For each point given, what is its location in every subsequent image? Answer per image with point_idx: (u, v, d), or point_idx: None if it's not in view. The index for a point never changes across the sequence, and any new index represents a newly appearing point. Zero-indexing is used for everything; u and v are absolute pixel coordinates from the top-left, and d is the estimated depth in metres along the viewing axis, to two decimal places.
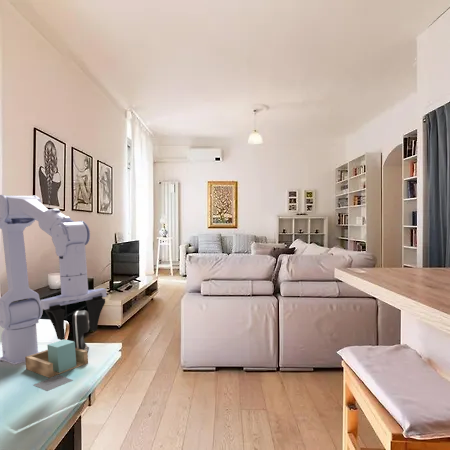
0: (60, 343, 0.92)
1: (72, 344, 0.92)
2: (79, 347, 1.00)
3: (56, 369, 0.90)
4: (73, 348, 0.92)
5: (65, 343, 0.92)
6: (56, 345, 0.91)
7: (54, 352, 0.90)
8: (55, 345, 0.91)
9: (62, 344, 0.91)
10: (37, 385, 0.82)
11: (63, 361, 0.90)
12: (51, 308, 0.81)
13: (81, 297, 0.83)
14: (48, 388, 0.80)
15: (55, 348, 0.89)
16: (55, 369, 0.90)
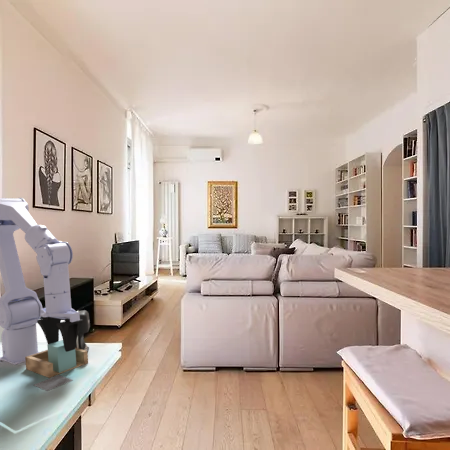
0: (60, 343, 0.92)
1: None
2: (79, 347, 1.00)
3: (56, 369, 0.90)
4: None
5: None
6: (56, 345, 0.91)
7: (54, 352, 0.90)
8: (55, 345, 0.91)
9: (62, 344, 0.91)
10: (37, 385, 0.82)
11: (63, 361, 0.90)
12: (43, 317, 0.95)
13: (41, 315, 0.89)
14: (48, 388, 0.80)
15: (55, 348, 0.89)
16: (55, 369, 0.90)
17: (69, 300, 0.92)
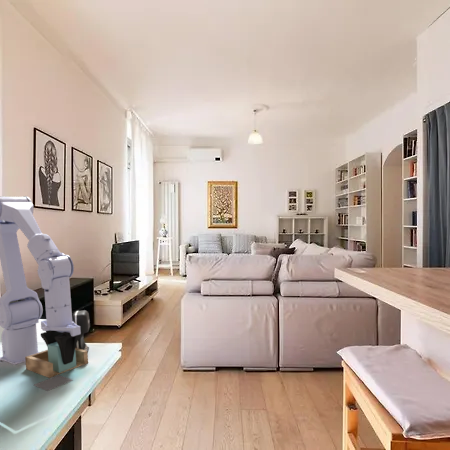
0: None
1: None
2: (79, 347, 1.00)
3: (56, 369, 0.90)
4: None
5: None
6: (56, 345, 0.91)
7: (54, 352, 0.90)
8: (55, 345, 0.91)
9: None
10: (37, 385, 0.82)
11: None
12: None
13: (42, 329, 0.89)
14: (48, 388, 0.80)
15: (55, 348, 0.89)
16: (55, 369, 0.90)
17: (70, 313, 0.92)
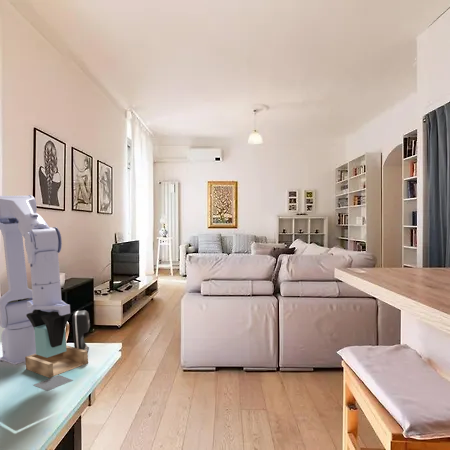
0: None
1: None
2: (79, 347, 1.00)
3: (44, 354, 0.81)
4: None
5: None
6: (44, 327, 0.82)
7: (42, 335, 0.81)
8: (43, 327, 0.82)
9: None
10: (37, 385, 0.82)
11: None
12: None
13: (28, 308, 0.80)
14: (48, 388, 0.80)
15: (43, 330, 0.81)
16: (43, 354, 0.81)
17: (59, 291, 0.83)
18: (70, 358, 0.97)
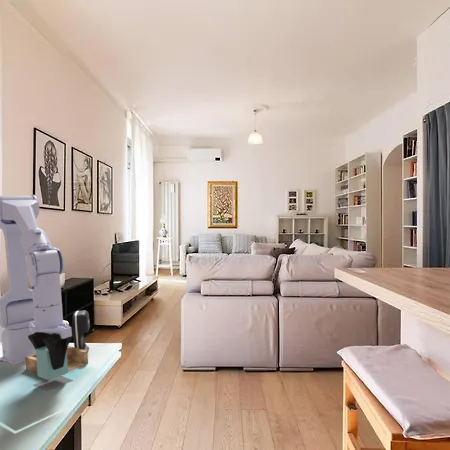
0: None
1: None
2: (79, 347, 1.00)
3: (45, 376, 0.81)
4: None
5: None
6: (45, 349, 0.82)
7: (43, 357, 0.81)
8: (44, 349, 0.82)
9: None
10: (37, 385, 0.82)
11: None
12: None
13: (29, 330, 0.80)
14: (48, 388, 0.80)
15: (44, 353, 0.81)
16: (44, 376, 0.81)
17: (60, 313, 0.83)
18: (70, 358, 0.97)
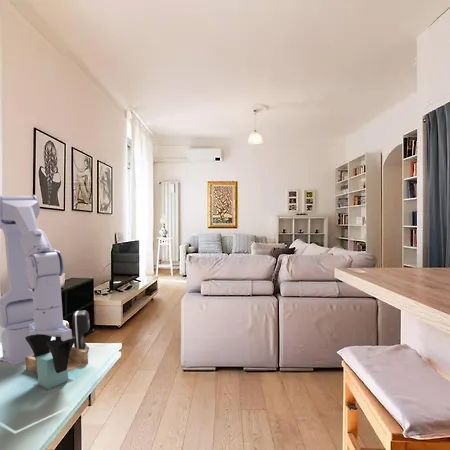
0: (50, 355, 0.83)
1: None
2: (79, 347, 1.00)
3: (45, 384, 0.81)
4: None
5: None
6: (46, 358, 0.82)
7: (43, 366, 0.81)
8: (45, 358, 0.82)
9: None
10: (37, 385, 0.82)
11: (53, 376, 0.81)
12: None
13: (29, 332, 0.80)
14: None
15: (44, 361, 0.81)
16: (44, 384, 0.81)
17: (60, 315, 0.83)
18: (70, 358, 0.97)
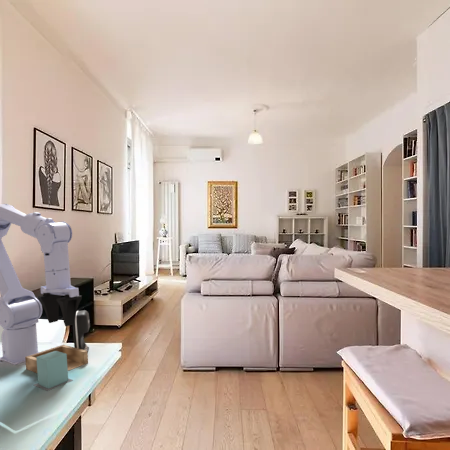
0: (50, 355, 0.83)
1: (63, 356, 0.83)
2: (79, 347, 1.00)
3: (45, 384, 0.81)
4: (65, 361, 0.84)
5: (56, 355, 0.83)
6: (46, 358, 0.82)
7: (43, 366, 0.81)
8: (45, 358, 0.82)
9: (52, 356, 0.82)
10: (37, 385, 0.82)
11: (53, 376, 0.81)
12: (44, 294, 0.98)
13: (42, 291, 0.92)
14: None
15: (44, 361, 0.81)
16: (44, 384, 0.81)
17: (68, 277, 0.95)
18: (70, 358, 0.97)
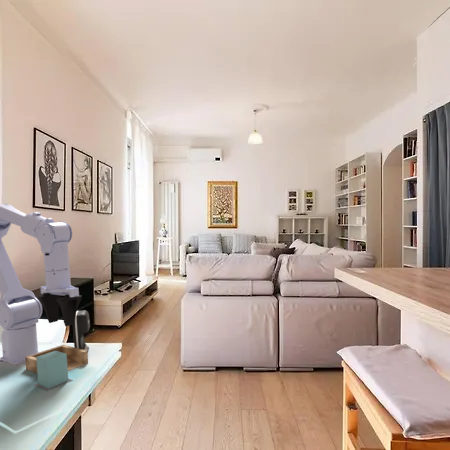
0: (50, 355, 0.83)
1: (63, 356, 0.83)
2: (79, 347, 1.00)
3: (45, 384, 0.81)
4: (65, 361, 0.84)
5: (56, 355, 0.83)
6: (46, 358, 0.82)
7: (43, 366, 0.81)
8: (45, 358, 0.82)
9: (52, 356, 0.82)
10: (37, 385, 0.82)
11: (53, 376, 0.81)
12: (44, 294, 0.98)
13: (42, 291, 0.92)
14: None
15: (44, 361, 0.81)
16: (44, 384, 0.81)
17: (68, 277, 0.95)
18: (70, 358, 0.97)
